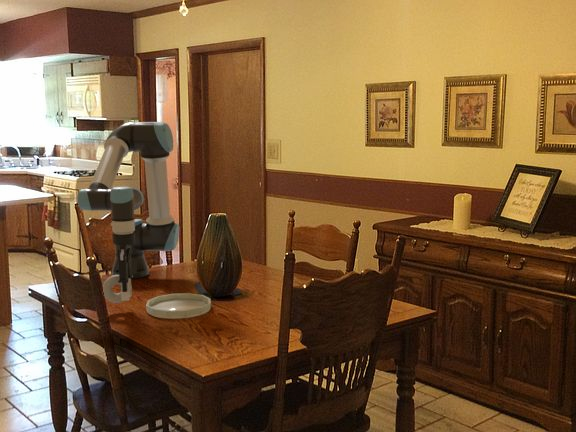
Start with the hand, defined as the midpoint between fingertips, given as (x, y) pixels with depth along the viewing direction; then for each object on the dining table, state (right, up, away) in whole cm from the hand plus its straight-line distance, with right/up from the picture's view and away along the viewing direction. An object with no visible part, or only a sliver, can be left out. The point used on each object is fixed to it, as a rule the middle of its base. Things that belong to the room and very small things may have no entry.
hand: (126, 298), depth 234 cm
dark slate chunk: (+28, -1, +27) cm, 39 cm away
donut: (-3, -2, 0) cm, 3 cm away
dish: (+18, -4, +2) cm, 18 cm away
